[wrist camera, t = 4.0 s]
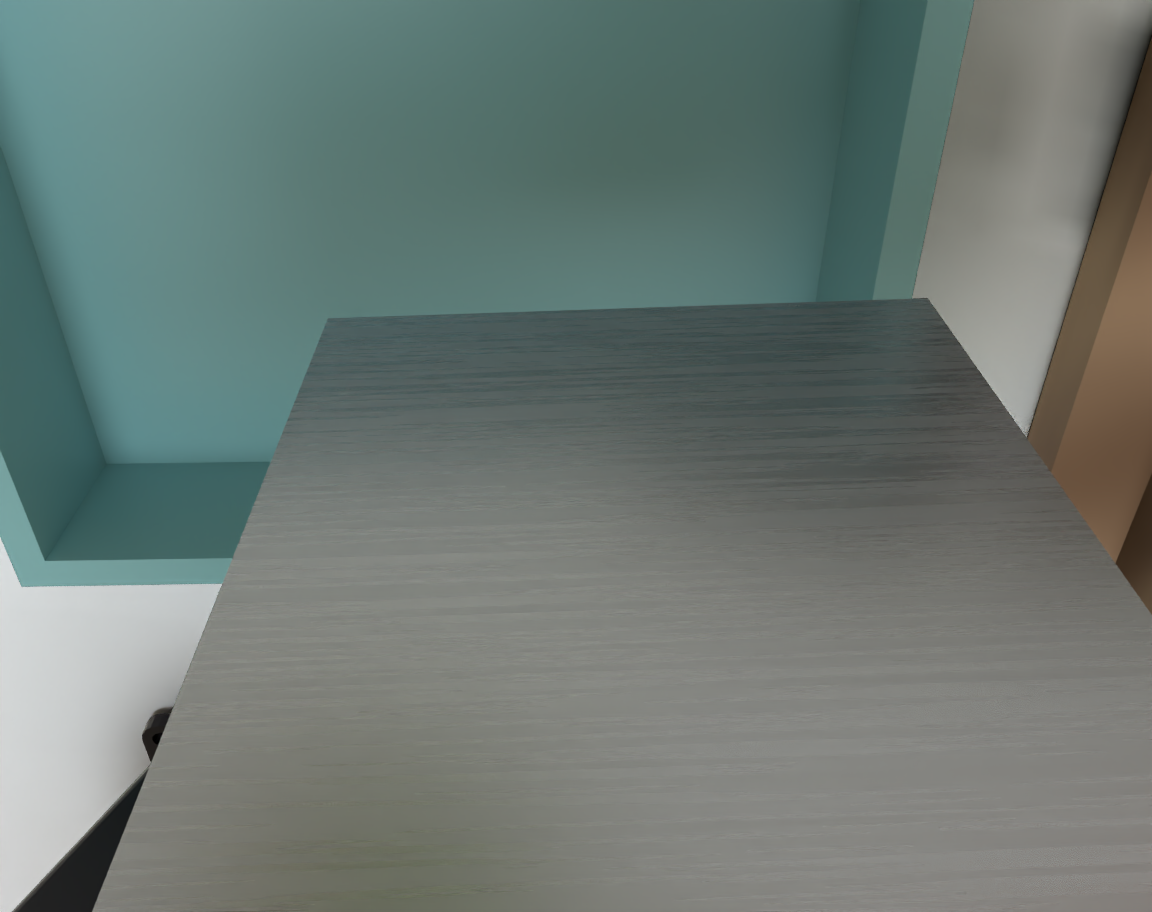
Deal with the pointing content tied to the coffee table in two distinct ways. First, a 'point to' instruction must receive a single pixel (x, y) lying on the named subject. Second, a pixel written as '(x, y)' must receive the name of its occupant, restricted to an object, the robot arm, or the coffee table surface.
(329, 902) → the block
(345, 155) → the tote
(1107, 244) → the pallet
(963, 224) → the coffee table surface
